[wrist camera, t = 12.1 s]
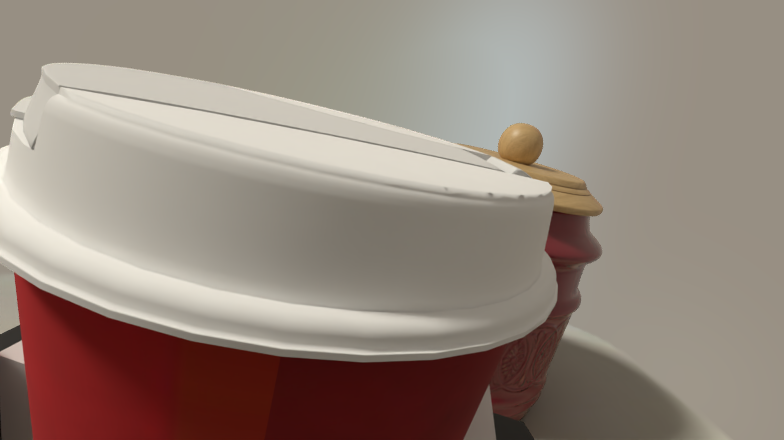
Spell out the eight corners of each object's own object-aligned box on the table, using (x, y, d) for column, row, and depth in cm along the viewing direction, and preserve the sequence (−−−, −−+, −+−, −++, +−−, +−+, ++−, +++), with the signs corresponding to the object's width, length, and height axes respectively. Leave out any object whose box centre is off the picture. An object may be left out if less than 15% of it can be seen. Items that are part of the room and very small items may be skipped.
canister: (566, 395, 29) (673, 162, 24) (456, 474, 21) (588, 136, 16) (439, 303, 38) (499, 118, 33) (324, 331, 29) (381, 85, 24)
